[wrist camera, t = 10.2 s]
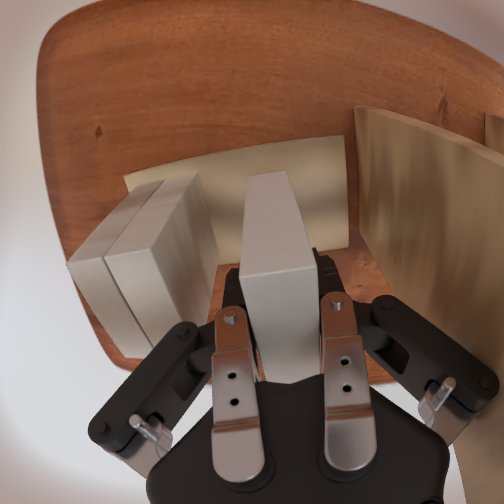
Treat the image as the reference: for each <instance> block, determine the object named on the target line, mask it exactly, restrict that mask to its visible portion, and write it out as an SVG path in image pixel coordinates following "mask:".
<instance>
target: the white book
mask: <svg viewBox="0 0 504 504" xmlns="http://www.w3.org/2000/svg"><path fill="white" fill-rule="evenodd" d="M239 280H240V284H241V288H242V292H243V296H244V299H245V303H246V307H247V311H248V315H249V318H250V322H251V326H252V330H253V333H254V337H255V341H256V344H257V348H258V352H259V355H260V359H261V363H262V366H263V370H264V374H265V377H266V381H268V382H277V383H286V384H291V383H295V382H297V381H300V380H303V379H306V378H308V377H311V376H314V375H317V374H320V322H319V292H318V271H317V264H316V261H315V257H314V254H313V251H312V248H311V244H310V241H309V238H308V235H307V232H306V229H305V225H304V222H303V219H302V216H301V213H300V210H299V207H298V204H297V201H296V198H295V195H294V192H293V189H292V186H291V184H290V181H289V178H288V175H287V172H286V171H280V172H273V173H267V174H260V175H254V176H248V177H247V186H246V198H245V209H244V221H243V233H242V245H241V257H240V269H239Z"/></svg>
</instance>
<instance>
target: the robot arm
mask: <svg viewBox="0 0 504 504" xmlns="http://www.w3.org/2000/svg"><path fill="white" fill-rule="evenodd" d="M312 251H313V254H314V257H315V261H316V264H317V271H318V292H319V322H320V335H321V356H322V374H317V375H314V376H311V377H308V378H306V379H303V380H300V381H297V382H295V383H291V384H286V383H277V382H268V381H261V375H260V369H259V363H258V357H257V351H256V341H255V337H254V333H253V330H252V326H251V322H250V318H249V315H248V311H247V307H246V303H245V299H244V296H243V292H242V288H241V284H240V280H239V269H240V263H239V268H233V269H231V270H230V271H229V273H228V274H227V275H226V282H225V283H226V284H225V290H224V297H223V304H222V309H221V310H220V311H219V312H218V313H217V314H216V316H215V320H214V321H212V322H210V323H208V324H205V325H202V326H199V327H197V325H196V324H195V323H193V322H191V321H183V322H179V323H177V324H176V325H174V326H173V327H172V328H171V329H170V330H169V331H168V332H167V333H166V335H165V336H164V337H163V338H162V339H161V340H160V341H159V343H158V344H157V345H156V346H155V347H154V348H153V349H152V351H151V352H150V353H149V354H148V355H147V356H146V357H145V359H144V360H143V361H142V362H141V363H140V364H139V365H138V367H137V368H136V369H135V370H134V371H133V372H132V373H131V375H130V376H129V377H128V378H127V379H126V380H125V381H124V383H123V384H122V385H121V386H120V387H119V388H118V390H117V391H116V392H115V393H114V394H113V396H112V397H111V398H110V399H109V400H108V401H107V403H105V405H104V406H103V407H102V408H101V409H100V410H99V412H98V413H97V414H96V415H95V416H94V418H93V419H92V420H91V421H90V423H89V426H88V435H89V437H90V439H91V440H92V441H93V442H95V443H96V444H98V445H99V446H101V447H102V448H103V449H104V450H105V451H107V452H108V453H110V454H111V455H113V456H115V457H116V458H118V459H120V460H122V461H124V462H125V463H126V464H127V465H129V466H130V467H131V468H132V469H134V470H135V471H136V472H138V473H139V474H140V475H142V476H143V477H144V478H146V479H147V480H146V492H147V496H148V499H149V501H150V503H151V504H444V501H443V491H444V484H445V479H446V475H447V471H448V468H449V463H450V453H449V449H448V447H449V446H450V445H451V444H452V442H453V441H454V440H455V439H456V438H457V437H458V436H459V434H460V433H461V432H462V431H463V430H464V429H465V428H466V427H467V426H468V425H469V424H470V423H471V422H472V421H473V420H474V419H475V418H476V417H477V416H478V415H479V414H480V413H481V412H482V411H483V410H484V408H485V407H486V406H487V405H488V404H489V403H490V402H491V401H492V400H493V399H494V397H495V396H496V395H497V394H498V391H499V388H500V382H499V379H498V377H497V375H496V374H495V373H494V372H493V371H492V370H491V369H490V368H488V367H487V366H486V365H485V364H484V363H482V362H481V361H480V360H479V359H477V358H476V357H475V356H474V355H472V354H471V353H470V352H468V351H467V350H466V349H465V348H463V347H462V346H461V345H460V344H458V343H457V342H456V341H454V340H453V339H452V338H450V337H449V336H448V335H447V334H445V333H444V332H443V331H441V330H440V329H439V328H437V327H436V326H435V325H433V324H432V323H431V322H429V321H428V320H427V319H425V318H424V317H423V316H421V315H420V314H419V313H417V312H416V311H414V310H413V309H412V308H410V307H409V306H408V305H406V304H405V303H403V302H402V301H401V300H399V299H398V298H396V297H394V296H391V295H381V296H378V297H376V298H375V299H374V300H373V301H372V304H370V303H359V302H356V301H353V300H352V298H351V297H350V296H349V295H348V294H346V292H345V290H344V287H343V284H342V281H341V279H340V276H339V274H338V271H337V268H336V266H335V263H334V260H332V259H331V258H330V257H329V256H328V255H326V256H319V255H318V252H317V249H316V247H312ZM364 350H366V352H367V353H368V354H369V355H370V356H371V357H372V358H373V359H374V360H375V361H376V362H377V363H378V364H379V365H380V366H381V367H382V368H384V369H385V370H386V371H387V372H388V373H389V374H390V375H391V376H392V377H393V378H394V379H395V380H396V381H397V382H399V383H400V384H401V385H402V386H403V387H404V388H405V389H406V390H407V391H408V392H409V393H410V394H412V396H414V397H415V398H416V399H417V400H418V401H419V404H418V411H419V414H420V416H421V417H422V419H423V420H424V422H425V424H423V423H422V422H420V421H419V420H417V419H416V418H414V417H413V416H412V415H410V414H409V413H407V412H406V411H404V410H403V409H401V408H400V407H398V406H397V405H396V404H394V403H393V402H391V401H390V400H389V399H387V398H386V397H384V396H383V395H382V394H380V393H379V392H378V391H376V390H375V389H373V388H372V387H371V386H369V381H368V374H367V366H366V359H365V353H364ZM211 376H212V394H213V395H212V397H213V406H212V407H211V408H210V410H209V411H208V412H207V413H206V414H205V415H204V416H203V417H202V418H201V419H200V420H199V421H198V422H197V423H196V424H195V425H194V426H193V427H192V428H191V429H190V430H189V432H187V434H185V435H184V437H182V439H181V440H180V441H179V442H178V443H177V444H175V445H174V447H172V448H171V444H172V440H173V436H172V433H171V431H172V430H173V428H174V427H175V426H176V424H177V423H178V421H179V420H180V419H181V417H182V416H183V415H184V413H185V412H186V411H187V409H188V408H189V407H190V405H191V404H192V402H193V401H194V400H195V398H196V397H197V395H198V394H199V393H200V391H201V390H202V389H203V387H204V386H205V384H206V383H207V382H208V380H209V379H210V377H211ZM169 449H170V450H169ZM168 450H169V451H168Z"/></svg>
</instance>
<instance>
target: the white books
mask: <svg viewBox="0 0 504 504" xmlns="http://www.w3.org/2000/svg"><path fill="white" fill-rule="evenodd" d="M280 171H286V172H287V175H288V178H289V181H290V184H291V186H292V189H293V192H294V195H295V198H296V201H297V204H298V207H299V210H300V213H301V216H302V219H303V222H304V225H305V229H306V232H307V235H308V238H309V241H310V244H311V248H312V247H316V249H317V252H318V251H325V250H332V249H339V248H346V247H349V220H348V188H347V169H346V154H345V142H344V136H343V135H331V136H320V137H311V138H302V139H294V140H286V141H279V142H272V143H265V144H259V145H253V146H247V147H241V148H235V149H230V150H225V151H220V152H215V153H210V154H205V155H200V156H196V157H191V158H187V159H183V160H178V161H174V162H170V163H166V164H162V165H158V166H154V167H151V168H147V169H143V170H140V171H136V172H133V173H129V174H126V175H125V176H124V179H125V182H126V185H127V188H128V191H129V194H128V195H127V196H126V197H125V198H124V199H123V200H122V201H121V202H120V203H119V204H118V205H117V206H116V207H115V208H114V209H113V210H112V212H111V213H110V214H109V215H108V216H107V217H106V218H105V219H104V220H103V221H102V222H101V223H100V224H99V225H98V227H97V228H96V229H95V230H94V231H93V232H92V233H91V234H90V235H89V237H88V238H87V239H86V240H85V241H84V242H83V243H82V245H81V246H80V247H79V248H78V249H77V251H76V252H75V253H74V254H73V255H72V257H71V258H70V259H69V260H68V261H67V263H66V266H67V268H68V270H69V272H70V273H71V275H72V277H73V279H74V281H75V282H76V284H77V286H78V288H79V289H80V291H81V293H82V294H83V296H84V298H85V299H86V301H87V302H88V304H89V306H90V307H91V309H92V310H93V312H94V314H95V315H96V317H97V318H98V320H99V321H100V323H101V324H102V326H103V327H104V329H105V330H106V331H107V333H108V334H109V336H110V337H111V339H112V340H113V341H114V343H115V344H116V346H117V347H118V348H119V350H120V351H121V352H122V354H123V355H124V356H125V357H126V358H145V357H146V356H147V355H148V354H149V353H150V352H151V351H152V349H153V348H154V347H155V346H156V345H157V344H158V343H159V341H160V340H161V339H162V338H163V337H164V336H165V335H166V333H167V332H168V331H169V330H170V329H171V328H172V327H173V326H174V325H176V324H177V323H179V322H183V321H191V322H193V323H195V324H196V325H197V327H199V326H202V325H205V324H207V318H208V313H209V308H210V302H211V297H212V292H213V286H214V281H215V276H216V271H217V266H218V265H224V264H231V263H239V262H240V257H241V245H242V233H243V221H244V209H245V198H246V186H247V177H248V176H254V175H260V174H267V173H273V172H280Z"/></svg>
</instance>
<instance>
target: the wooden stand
mask: <svg viewBox="0 0 504 504" xmlns="http://www.w3.org/2000/svg"><path fill="white" fill-rule="evenodd" d="M353 108H354V118H355V129H356V141H357V157H358V178H359V232H360V234H361V236H362V238H363V239H364V241H365V243H366V245H367V246H368V248H369V250H370V252H371V253H372V255H373V257H374V259H375V261H376V262H377V264H378V266H379V268H380V270H381V272H382V274H383V275H384V277H385V279H386V281H387V283H388V285H389V287H390V289H391V291H392V293H393V295H394V297H396V298H398V299H399V300H401V301H402V302H403V303H405V304H406V305H408V306H409V307H410V308H412V309H413V310H414V311H416V312H417V313H419V314H420V315H421V316H423V317H424V318H425V319H427V320H428V321H429V322H431V323H432V324H433V325H435V326H436V327H437V328H439V329H440V330H441V331H443V332H444V333H445V334H447V335H448V336H449V337H450V338H452V339H453V340H454V341H456V342H457V343H458V344H460V345H461V346H462V347H463V348H465V349H466V350H467V351H468V352H470V353H471V354H472V355H474V356H475V357H476V358H477V359H479V360H480V361H481V362H482V363H484V364H485V365H486V366H487V367H488V368H490V369H491V370H492V371H493V372H494V373H495V374H496V375H497V377H498V379H499V382H500V388H499V391H498V394H497V395H496V396H495V397H494V399H493V400H492V401H491V402H490V403H489V404H488V405H487V406H486V407H485V408H484V410H483V411H482V412H481V413H480V414H479V415H478V416H477V417H476V418H475V419H474V420H473V421H472V422H471V423H470V424H469V425H468V426H467V427H466V428H465V429H464V430H463V431H462V432H461V433H460V434H459V436H458V437H457V438H456V439H455V440H454V441H453V442H452V443H453V447H454V450H455V454H456V458H457V461H458V465H459V469H460V473H461V478H462V483H463V488H464V492H465V498H466V503H467V504H504V117H502V116H499V115H496V114H492V113H485V146H484V145H482V144H479V143H477V142H475V141H473V140H470V139H468V138H466V137H463V136H461V135H458V134H456V133H453V132H451V131H448V130H446V129H443V128H440V127H438V126H435V125H432V124H429V123H426V122H423V121H421V120H417V119H414V118H411V117H408V116H405V115H401V114H398V113H395V112H391V111H387V110H384V109H380V108H376V107H372V106H353Z"/></svg>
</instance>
